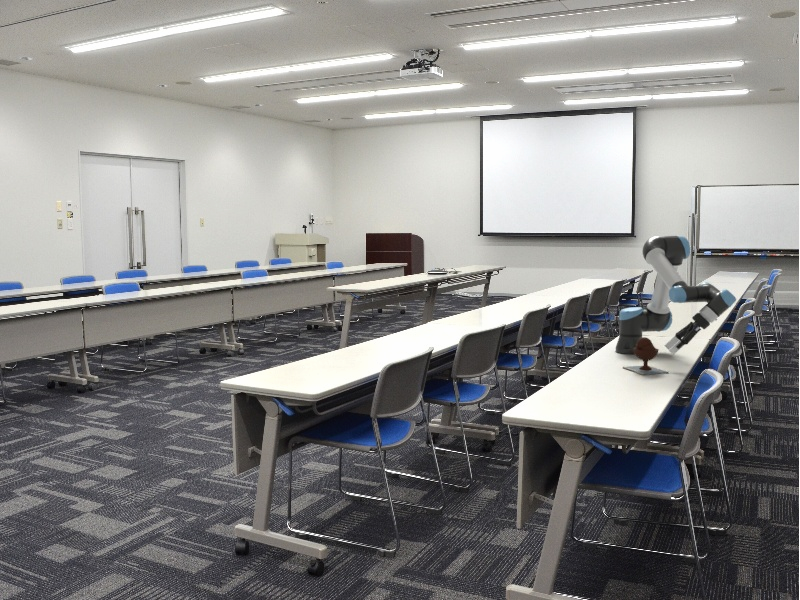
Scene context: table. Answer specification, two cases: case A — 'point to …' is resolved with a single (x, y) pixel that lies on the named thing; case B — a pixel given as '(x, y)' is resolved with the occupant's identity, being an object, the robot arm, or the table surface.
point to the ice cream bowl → (645, 352)
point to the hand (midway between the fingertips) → (668, 350)
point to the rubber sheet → (644, 372)
